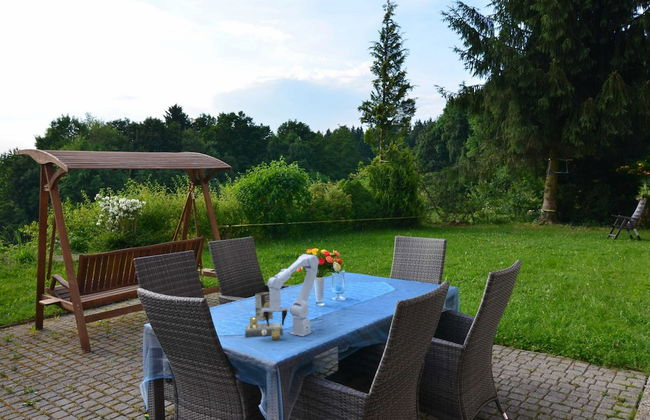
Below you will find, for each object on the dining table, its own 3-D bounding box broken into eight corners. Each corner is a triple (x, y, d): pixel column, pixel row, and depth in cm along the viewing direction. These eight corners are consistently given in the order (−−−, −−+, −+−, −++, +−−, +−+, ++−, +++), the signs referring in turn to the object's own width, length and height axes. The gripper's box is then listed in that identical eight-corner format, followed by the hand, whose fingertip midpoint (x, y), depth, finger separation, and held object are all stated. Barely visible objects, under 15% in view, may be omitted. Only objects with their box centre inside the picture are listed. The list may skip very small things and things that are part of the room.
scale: (282, 335, 260) (282, 328, 260) (245, 337, 257) (245, 330, 257) (280, 327, 274) (280, 321, 274) (245, 329, 271) (245, 323, 271)
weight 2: (281, 338, 253) (281, 329, 253) (276, 341, 250) (276, 331, 250) (275, 337, 256) (275, 328, 256) (270, 339, 252) (269, 330, 252)
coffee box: (262, 321, 289) (261, 295, 289) (255, 319, 293) (254, 293, 293) (273, 317, 296) (272, 292, 296) (266, 316, 300) (265, 291, 300)
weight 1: (258, 327, 265) (258, 318, 265) (250, 328, 263) (250, 319, 263) (256, 325, 269) (256, 316, 269) (249, 326, 268) (248, 317, 267)
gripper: (287, 297, 257) (288, 322, 258) (261, 299, 255) (261, 324, 255) (289, 300, 250) (289, 326, 251) (261, 302, 248) (261, 327, 248)
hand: (275, 325), depth 252 cm, fingers open, 7 cm apart
